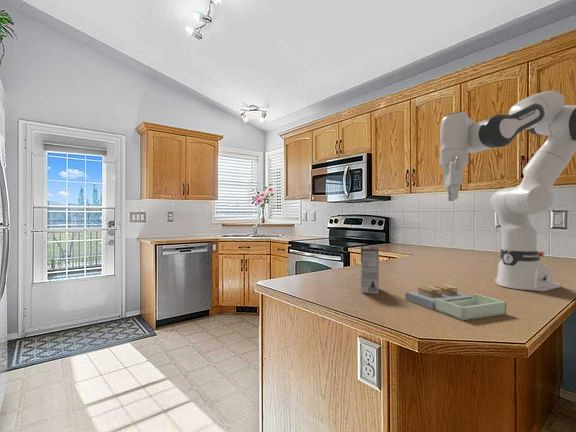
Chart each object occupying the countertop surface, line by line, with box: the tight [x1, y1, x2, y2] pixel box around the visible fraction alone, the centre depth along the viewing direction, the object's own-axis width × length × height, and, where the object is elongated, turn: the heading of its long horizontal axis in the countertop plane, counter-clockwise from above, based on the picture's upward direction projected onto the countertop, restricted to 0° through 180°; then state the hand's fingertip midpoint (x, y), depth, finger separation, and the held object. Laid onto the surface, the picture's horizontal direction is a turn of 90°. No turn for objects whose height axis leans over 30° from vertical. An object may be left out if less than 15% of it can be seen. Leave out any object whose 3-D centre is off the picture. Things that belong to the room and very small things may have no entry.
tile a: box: [433, 284, 458, 295], centre depth 107 cm, size 5×5×2 cm
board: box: [405, 290, 473, 311], centre depth 105 cm, size 16×12×2 cm
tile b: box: [417, 285, 442, 297], centre depth 105 cm, size 5×5×2 cm
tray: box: [433, 293, 507, 322], centre depth 94 cm, size 16×10×4 cm, turn 110°
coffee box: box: [360, 246, 380, 295], centre depth 120 cm, size 9×6×16 cm
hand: (452, 200), depth 110 cm, fingers open, 8 cm apart
